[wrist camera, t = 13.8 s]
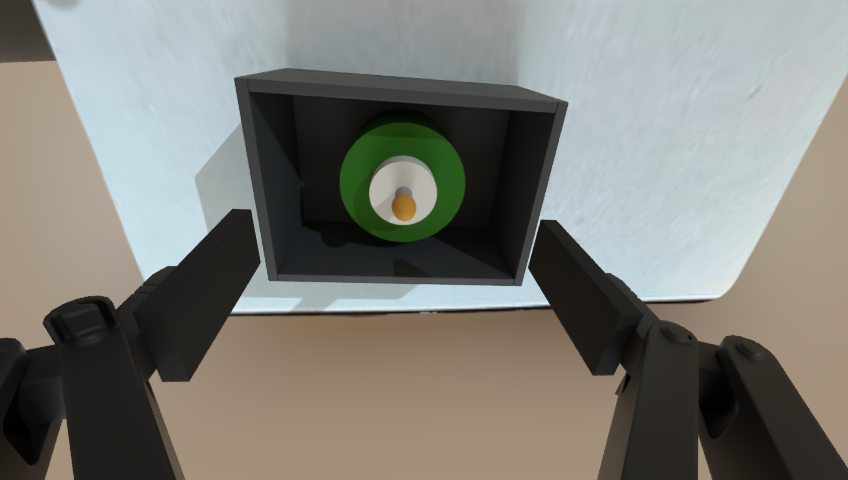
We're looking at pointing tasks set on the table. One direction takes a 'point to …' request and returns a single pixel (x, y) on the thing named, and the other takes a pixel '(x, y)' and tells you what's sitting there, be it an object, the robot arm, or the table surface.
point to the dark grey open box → (329, 144)
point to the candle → (402, 176)
